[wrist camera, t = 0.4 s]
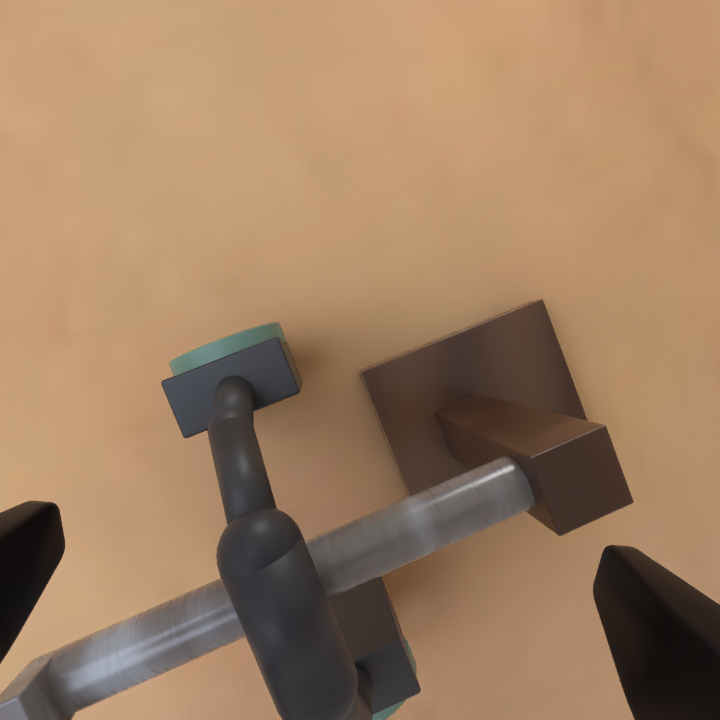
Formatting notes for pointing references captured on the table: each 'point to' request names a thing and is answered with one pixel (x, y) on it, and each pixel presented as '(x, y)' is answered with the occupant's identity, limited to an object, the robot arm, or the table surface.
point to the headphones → (285, 548)
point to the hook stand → (399, 520)
